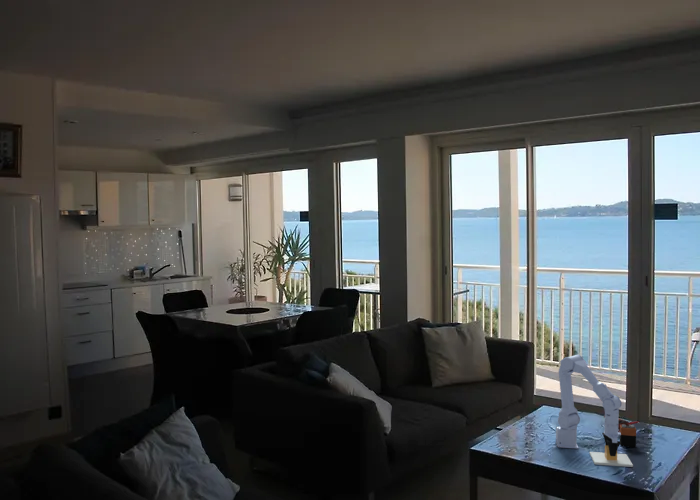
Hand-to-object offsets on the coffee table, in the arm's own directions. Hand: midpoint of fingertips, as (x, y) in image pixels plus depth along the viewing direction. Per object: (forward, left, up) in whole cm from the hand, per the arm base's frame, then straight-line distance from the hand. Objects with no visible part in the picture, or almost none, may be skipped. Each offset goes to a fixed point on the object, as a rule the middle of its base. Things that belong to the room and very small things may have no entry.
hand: (610, 452), depth 281 cm
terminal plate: (0, 0, -4) cm, 4 cm away
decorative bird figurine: (+13, +37, -4) cm, 39 cm away
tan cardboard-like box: (0, 0, -3) cm, 3 cm away
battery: (+12, +20, -4) cm, 24 cm away
